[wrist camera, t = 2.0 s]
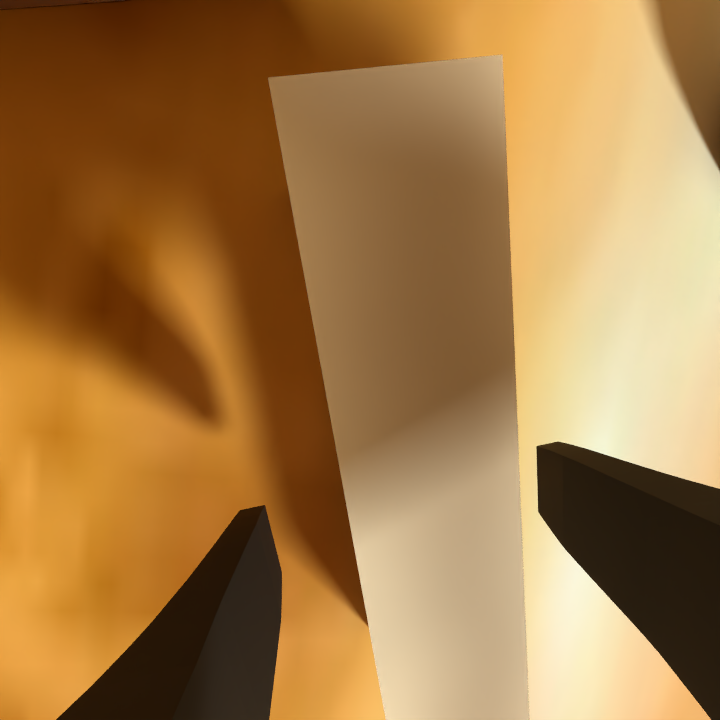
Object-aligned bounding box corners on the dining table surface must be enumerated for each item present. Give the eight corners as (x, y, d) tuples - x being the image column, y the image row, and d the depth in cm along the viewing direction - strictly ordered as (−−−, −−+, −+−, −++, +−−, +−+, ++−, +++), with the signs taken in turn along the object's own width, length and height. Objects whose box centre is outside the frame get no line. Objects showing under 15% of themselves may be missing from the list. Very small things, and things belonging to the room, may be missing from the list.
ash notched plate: (369, 628, 14) (413, 873, 8) (289, 187, 10) (268, 77, 4) (443, 609, 15) (534, 833, 9) (393, 174, 10) (502, 54, 5)
